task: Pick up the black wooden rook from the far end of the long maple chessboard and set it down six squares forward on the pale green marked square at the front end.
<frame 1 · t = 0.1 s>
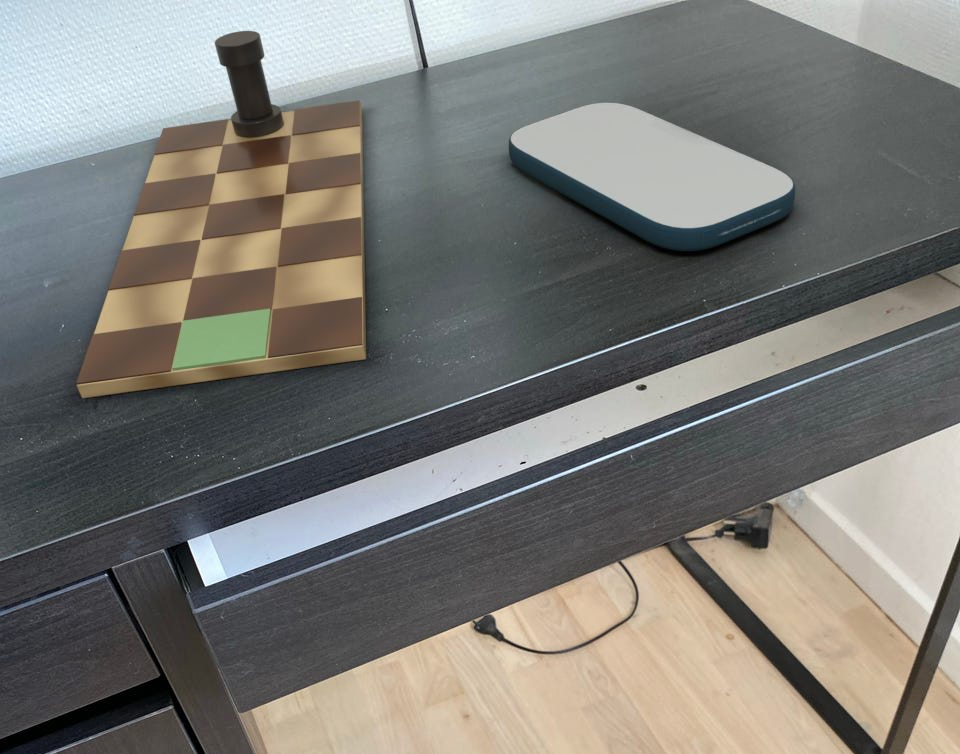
external hard drive: (641, 188, 76), on the table
rook: (259, 127, 90), point 1 cm above the table, touching chessboard
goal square: (223, 340, 65), resting on chessboard
chessboard: (247, 229, 78), on the table
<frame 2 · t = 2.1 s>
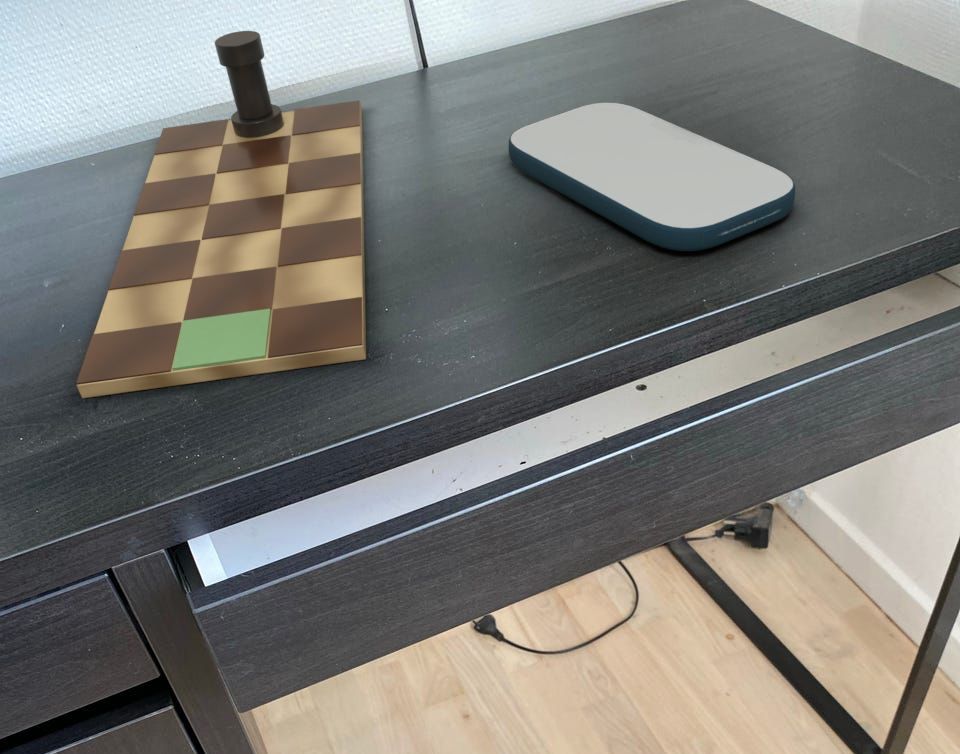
nothing on the table moved.
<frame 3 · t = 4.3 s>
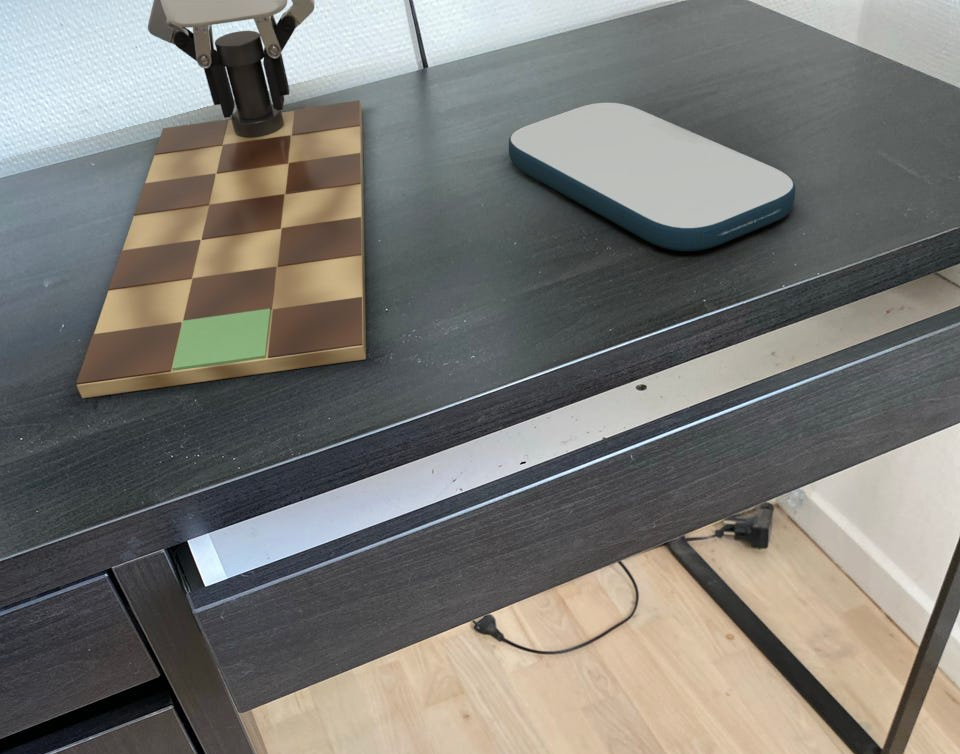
hand: (254, 106, 88), 3 cm above the table, tool pointing down, fingers closed on rook, 3 cm apart
rook: (259, 127, 90), point 1 cm above the table, touching chessboard, gripper
everything else where it was.
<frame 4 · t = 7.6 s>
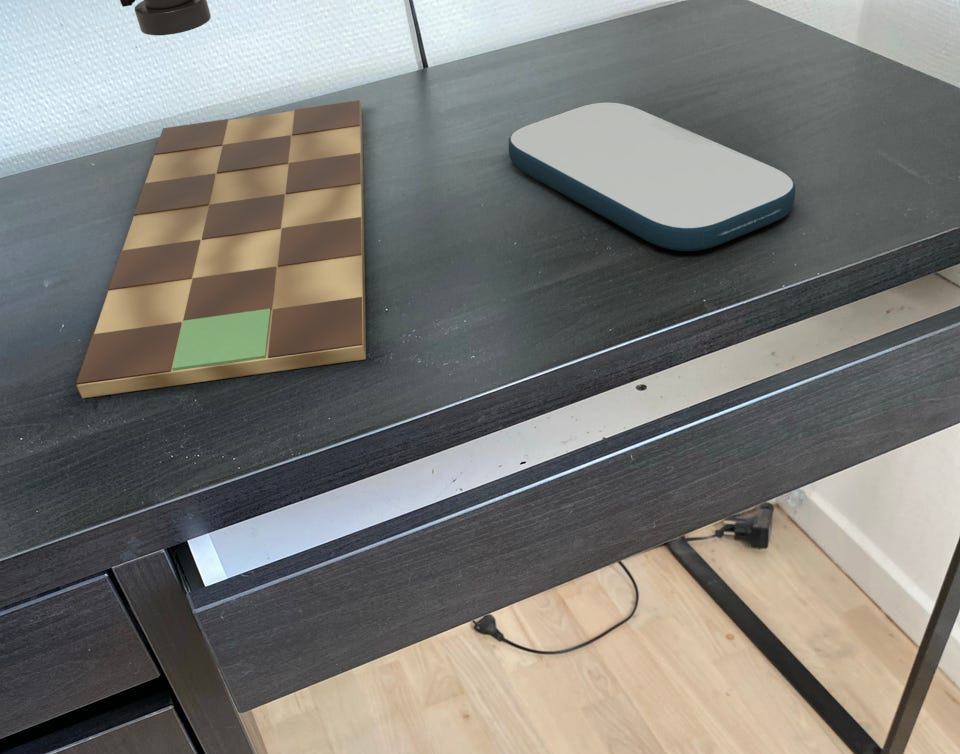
rook: (176, 23, 63), point 15 cm above the table, touching gripper
everything else where it was.
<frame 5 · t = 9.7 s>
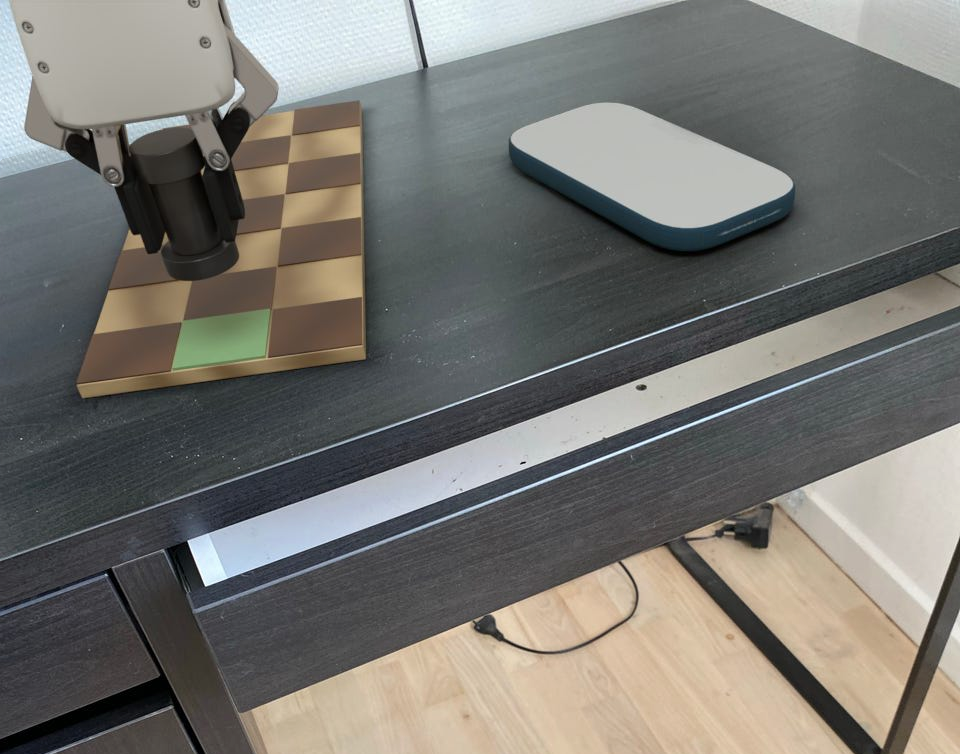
hand: (193, 234, 60), 8 cm above the table, tool pointing down, fingers closed on rook, 3 cm apart
rook: (203, 263, 61), point 6 cm above the table, touching gripper
everything else where it was.
when the fingers open (3 cm above the table, at t = 11.0 s): rook stays where it is, resting on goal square.
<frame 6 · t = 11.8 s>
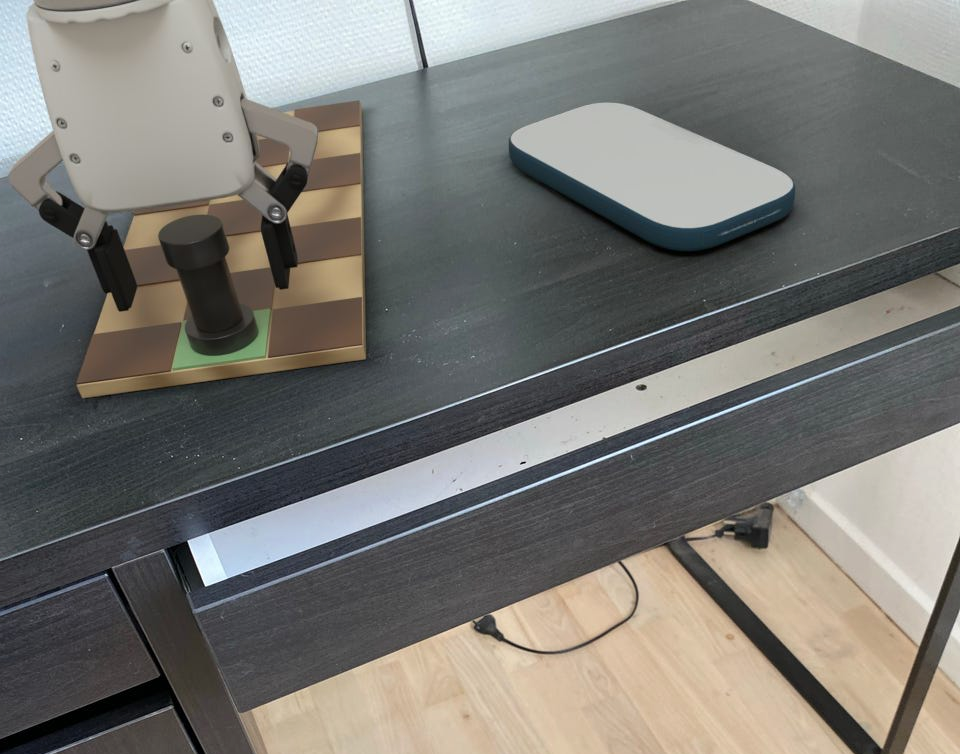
hand: (206, 289, 62), 4 cm above the table, tool pointing down, fingers open, 9 cm apart
rook: (224, 337, 65), point 1 cm above the table, touching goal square
everything else where it was.
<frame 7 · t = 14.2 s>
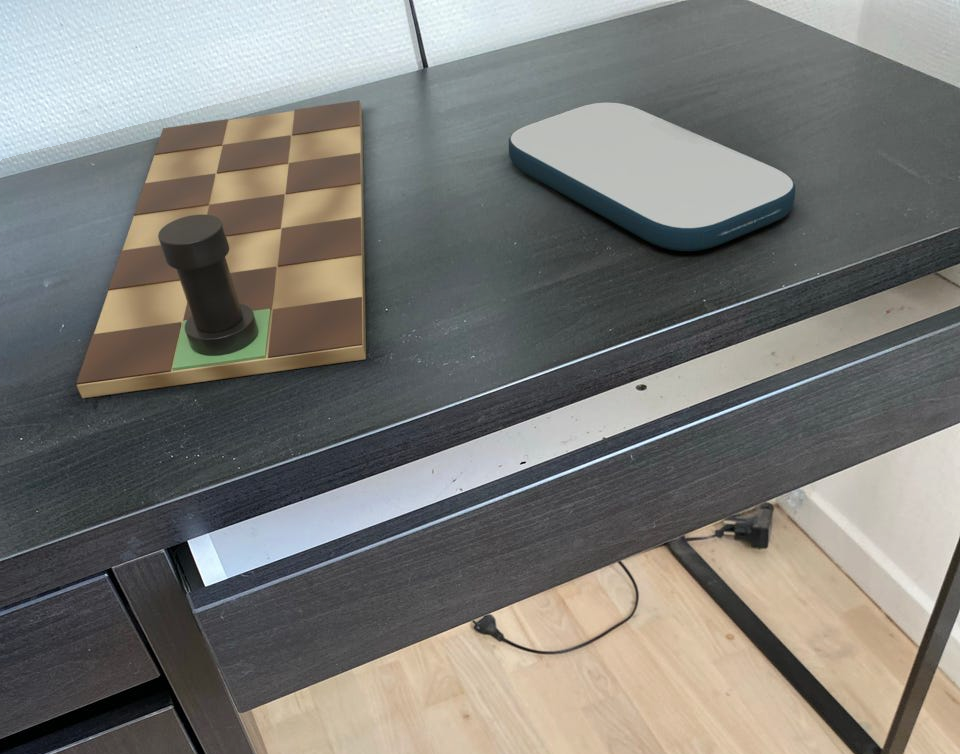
nothing on the table moved.
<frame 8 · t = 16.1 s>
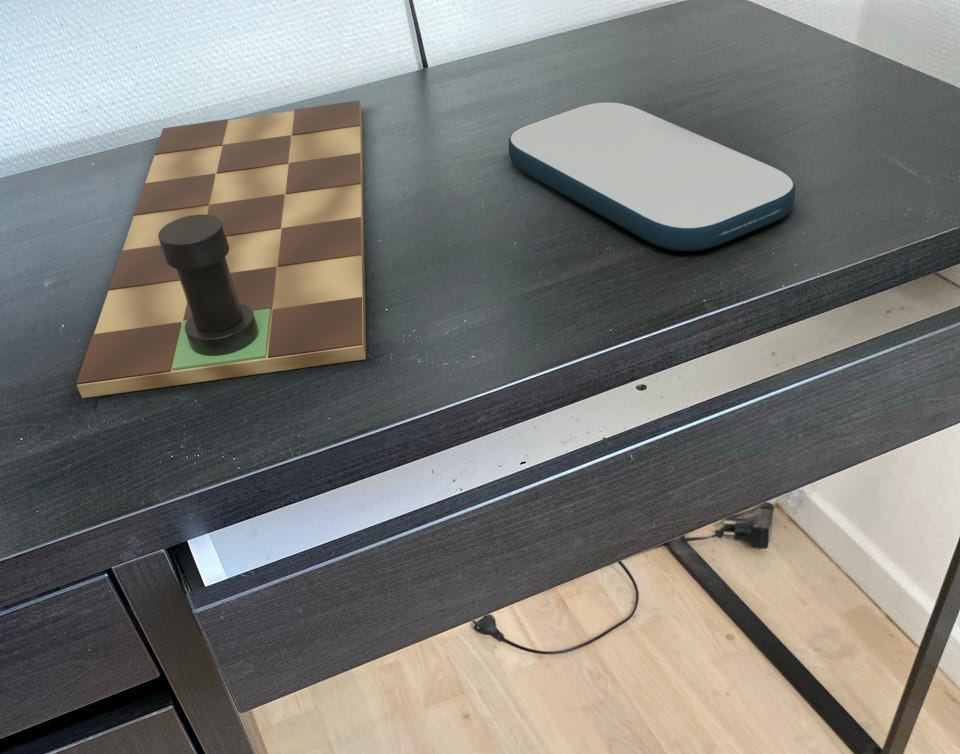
nothing on the table moved.
at the end: rook 0.1 cm off-centre on the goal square, point 0.2 cm above the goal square's base; rook tilted 0°; the gripper is holding nothing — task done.
